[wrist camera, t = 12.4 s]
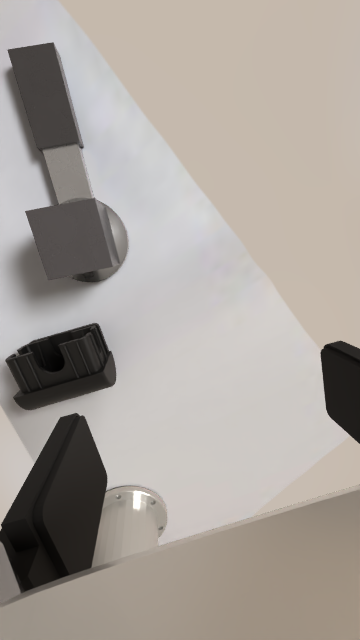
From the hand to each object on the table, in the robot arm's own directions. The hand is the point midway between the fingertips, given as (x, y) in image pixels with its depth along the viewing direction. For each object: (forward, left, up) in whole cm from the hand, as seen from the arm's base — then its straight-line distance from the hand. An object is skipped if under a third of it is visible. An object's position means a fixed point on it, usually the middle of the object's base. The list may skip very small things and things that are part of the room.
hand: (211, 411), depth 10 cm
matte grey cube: (+8, +8, -23) cm, 26 cm away
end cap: (-5, +14, -25) cm, 29 cm away
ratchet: (+15, +8, -24) cm, 30 cm away
